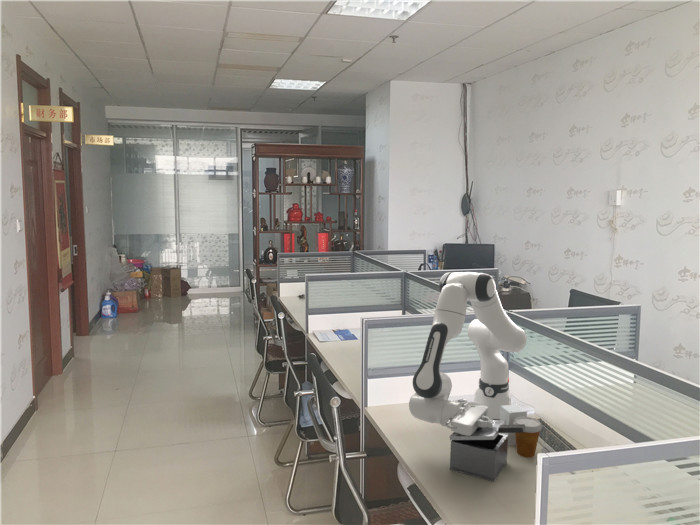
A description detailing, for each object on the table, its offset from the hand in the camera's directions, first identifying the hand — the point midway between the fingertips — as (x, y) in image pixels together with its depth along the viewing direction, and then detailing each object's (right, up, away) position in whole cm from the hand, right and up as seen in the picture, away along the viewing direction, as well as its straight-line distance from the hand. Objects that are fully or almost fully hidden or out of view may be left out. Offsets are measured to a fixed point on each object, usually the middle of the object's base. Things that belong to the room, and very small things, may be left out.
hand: (493, 424), depth 188 cm
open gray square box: (-4, -16, +4) cm, 17 cm away
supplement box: (+13, -13, +24) cm, 31 cm away
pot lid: (-1, -3, +1) cm, 3 cm away
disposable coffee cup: (+15, -15, +14) cm, 25 cm away
